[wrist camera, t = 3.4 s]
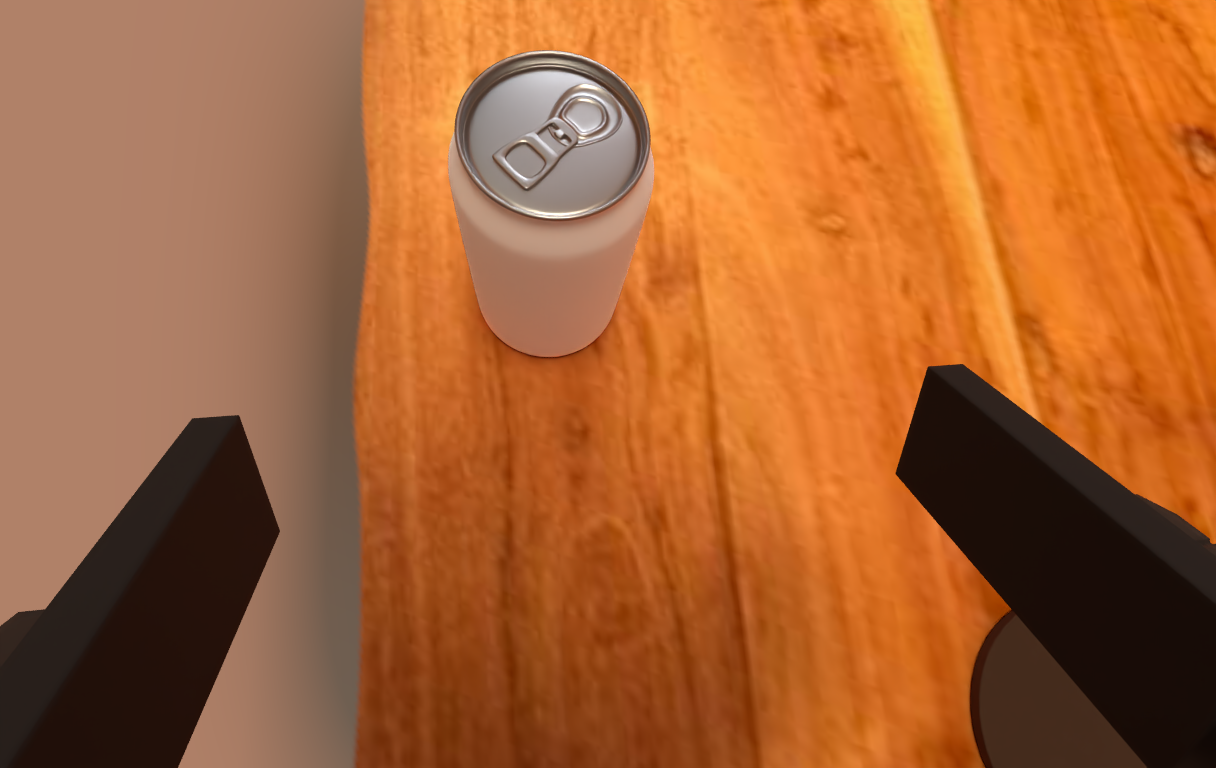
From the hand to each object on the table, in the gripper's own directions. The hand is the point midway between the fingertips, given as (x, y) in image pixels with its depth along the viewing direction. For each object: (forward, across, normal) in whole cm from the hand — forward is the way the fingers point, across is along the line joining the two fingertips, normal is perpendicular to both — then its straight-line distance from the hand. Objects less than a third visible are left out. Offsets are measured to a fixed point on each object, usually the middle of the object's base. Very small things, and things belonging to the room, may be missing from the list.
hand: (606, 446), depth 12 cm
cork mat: (+3, +21, -19) cm, 29 cm away
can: (+18, 0, -4) cm, 18 cm away
